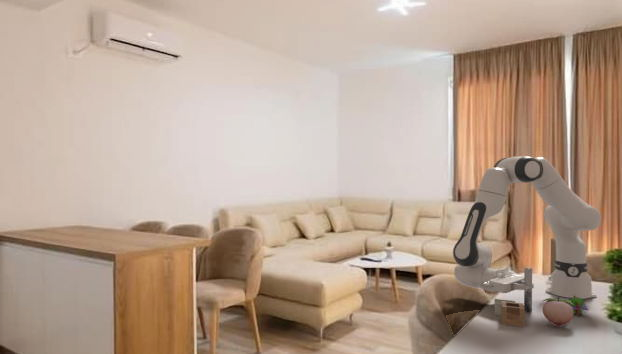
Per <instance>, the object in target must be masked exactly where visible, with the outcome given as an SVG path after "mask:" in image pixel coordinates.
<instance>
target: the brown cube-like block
mask: <svg viewBox="0 0 622 354" xmlns="http://www.w3.org/2000/svg"><path fill="white" fill-rule="evenodd" d="M500 319H501V320H500V321H501V325H505V326H507V325H508V326H513V327H514V326H515V327H523V328H525V325H526V324H525V323H526V320H525V319H526V312H525V308H524V302H523V303H522V302H516V301H515V302H505V301H501V316H500Z"/></svg>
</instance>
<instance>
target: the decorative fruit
mask: <svg viewBox="0 0 622 354" xmlns="http://www.w3.org/2000/svg"><path fill="white" fill-rule="evenodd" d="M570 301H571V300H568V299H567V300H566V299H560V296H558V295H557V298H551V297H549V298H544V299H543V300H542V302H544V303H543V305H542V314H543V315H544V318H545V319H546V320H547V321H548V322H549V323H552V324H553V325H555V326H556V327H560V326H563V325H564V326H565V325H567V324H569V323H570V322H572V320H573V318H574V315H575V314H574V312H573V308H572V306H571V305H570V304H572V305H573V306H574V304H573V303H571V302H570Z"/></svg>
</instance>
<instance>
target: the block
mask: <svg viewBox="0 0 622 354" xmlns="http://www.w3.org/2000/svg"><path fill="white" fill-rule="evenodd" d="M501 301H505V302H515V303H516V301H515V300H507V299H499V298H494V315H495V316H500V317H501Z"/></svg>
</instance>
